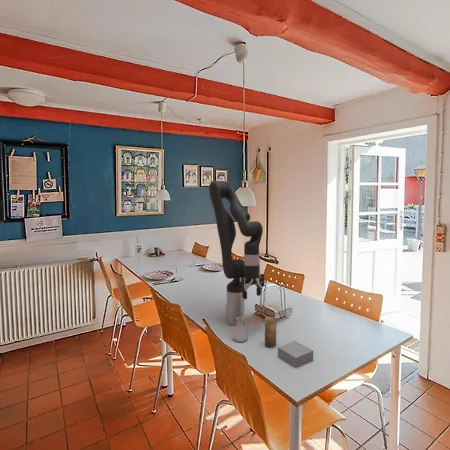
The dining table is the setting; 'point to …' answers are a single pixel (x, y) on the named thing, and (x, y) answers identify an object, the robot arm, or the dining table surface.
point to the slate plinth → (295, 353)
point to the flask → (239, 331)
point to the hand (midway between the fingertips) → (251, 297)
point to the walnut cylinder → (270, 332)
